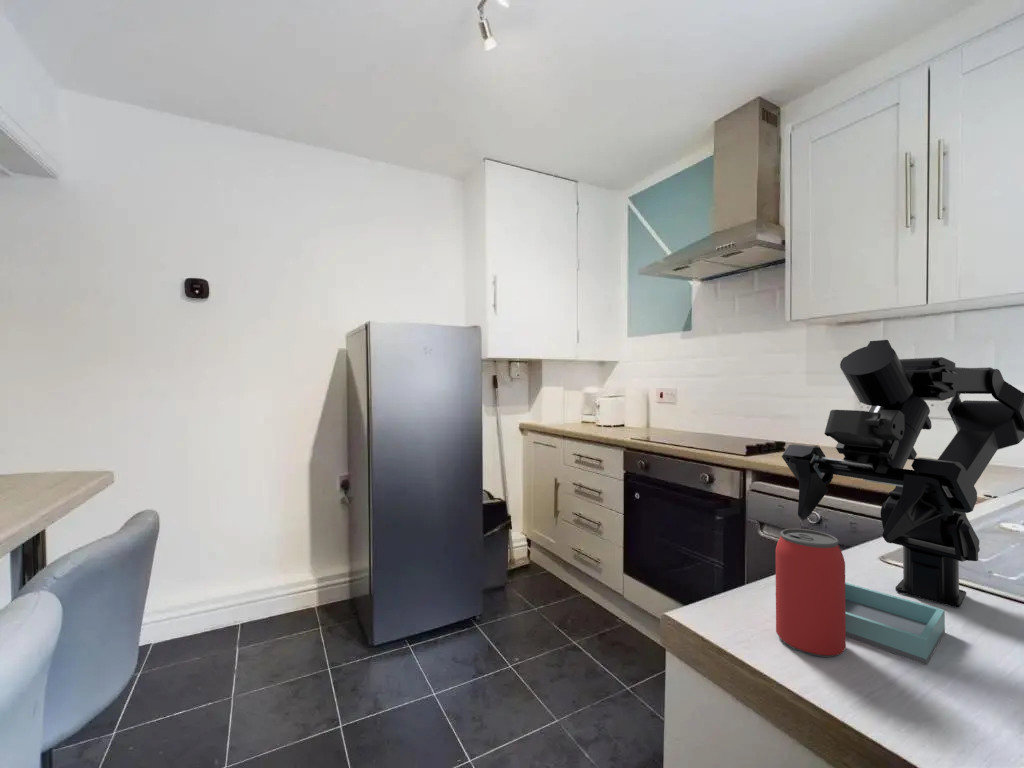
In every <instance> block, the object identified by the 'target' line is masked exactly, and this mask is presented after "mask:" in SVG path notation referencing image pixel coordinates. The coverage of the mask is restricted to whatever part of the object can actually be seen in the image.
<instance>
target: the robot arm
mask: <svg viewBox="0 0 1024 768" xmlns="http://www.w3.org/2000/svg"><path fill="white" fill-rule="evenodd" d="M839 367H840V370H841V371H842V373H843V375H844V377H845V378H846V380H847V382H848V383H849V386H850V387H851V389H852V391H853V393H854V394H855V397H856V398H857V399H858V401H859V403H861V404H864V405H866V406H870V408H869V410H868V411H867V410H854V409H853V410H852V409H831V410H830V411H829V415H828V417H827V421H826V422H827V423H826V426H825V430H824V433H823V434H824V435H825V436H826V437H830V438H832V440H835V442H837V443H836V446H835V449H836V451H837V452H838V454H841V455H843V459H841V458H834V457H827V456H826V455H825V453H824V452H823V450H822V448H821V447H820V446H815V445H814V446H813V445H805V444H797V443H796V444H795V443H793V444H788V446H787V447H786V448H785V450H784V452H783V453H782V455H781V458H782V460H783V461H784V463H785V464H786V465H787V466H788V467H787V468H789V470H790V471H791V473H792V474H793V476H794V477H795V478H796V480H797V481H798V502H797V503H798V507H797V516H798V517H799V519H800V520H803V521H805V520H807V518H809V516H810V515H811V514H812V513H813V511H814V510H815V509H816V508H817V507H818V505H819V504H820V502H821V501H822V499H823V498H824V496H826V494H827V493H828V491H829V488H828V487H827V485H829V484H831V482H832V481H833V480H834V479H833V478H834V476H835V475H836V476H842V477H848V478H853V479H854V478H855V479H861V480H863V481H864V482H871V483H874V484H875V483H876V484H882V485H887V486H888V485H889V486H894V488H893V490H891V491H889V493H888V495H889V497H888V498H887V499H886V500H885V501H884V502H883V503H882V505H881V508H880V519H881V523H882V530H883V532H882V538H883V540H884V541H885V542H886V543H888V544H893V545H898V546H902V559H903V560H902V563H903V564H902V569H903V570H902V573H903V574H902V576H903V579H902V580H900V581H899V583H898V584H897V585H896V586H895V591H896V592H897V593H901V594H905V595H908V596H912V597H917V598H920V599H924V600H927V601H931V602H935V603H936V604H937V603H938V604H941V605H945V606H949V607H953V608H958V609H959V608H960V607H961V605H962V604H963V602H964V601H965V598H966V597H967V591H965V590H962V589H960V563H959V562H965V561H971V562H978V561H979V552H980V548H981V547H980V539H979V537H978V535H977V533H976V532H975V530H974V528H973V527H972V526H973V525H971V522H970V520H969V519H968V517H967V514H969V513H971V512H973V511H974V509H975V505H976V504H977V501H978V491H977V489H976V487H975V485H976V484H977V482H978V481H979V479H980V477H981V476H982V474H983V472H985V469H986V468H987V466H988V465H989V463H990V462H991V461H992V459H993V457H994V456H995V455H996V453H997V451H998V450H1002V449H1005V448H1008V447H1013V446H1016V445H1019V444H1020V443H1021V442H1022V441H1023V440H1024V392H1023V391H1021V390H1020V389H1018V388H1017V387H1015V386H1013V385H1011V384H1010V383H1009V382H1007V381H1005V379H1004V377H1003V375H1002V373H1001V370H1000V369H998V368H993V367H992V366H991V367H957V366H956V362H954V361H952V360H950V359H948V358H946V357H943V356H941V357H939V356H938V357H937V356H935V357H921V358H920V357H919V358H918V357H917V358H899V356H898V354H897V352H896V350H895V349H894V348H893V347H892V345H891V343H890V341H889V340H888V339H880V340H870V341H869V342H868V344H867V345H866V346H863V347H860V348H858V349H856V350H854V351H852V352H851V353H849V354H847V356H844V357H842V359H841V360H840V363H839ZM963 394H964V395H966V394H968V395H972V394H974V395H982V394H984V395H991V396H992V398H994V399H995V400H966V399H965V400H963V401H962V399H961V397H960V396H961V395H963ZM948 399H951V400H950V401H949V404H948V406H947V412H948V414H949V416H950V417H951V420H952V422H953V424H954V426H955V428H956V433H955V435H954V436H953V438H952V439H951V440H950V442H949V443H948V445H947V446H946V447H945V448H944V450H943V451H942V452H941V454H940V456H939V457H938V458H937V459H934V458H932V459H931V458H927V457H926V458H924V457H918V458H917V455H918V453H917V452H916V450H915V448H914V446H915V444H916V443H917V440H918V437H919V436H920V434H921V432H922V430H927V431H928V430H931V429H932V420H931V419H930V417H929V415H930V413H931V409H930V407H929V404H928V403H927V402H926V401H933V402H934V401H936V402H939V401H941V402H943V401H946V400H948ZM908 460H911V461H912V463H911V465H910V466H911V468H912V469H907V468H905V465H906V463H907V462H908Z"/></svg>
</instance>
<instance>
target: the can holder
mask: <svg viewBox="0 0 1024 768" xmlns="http://www.w3.org/2000/svg"><path fill="white" fill-rule="evenodd" d="M845 612H846V638H849V639H852V640H854V641H858V642H861V643H863V644H866V645H869V646H871V647H874V648H876V649H880V650H883V651H886V652H889V653H892V654H894V655H897V656H900V657H901V658H905V659H908V660H911V661H914V662H915V663H916V662H917V663H920V664H922V665H925V666H928V663H930V660H931V658H932V656H933V655H934V652H935V651H936V649H937V647H938V645H939V644H940V643H941V640H942V638H943V637H944V635H945V633H946V624H945V622H946V620H945V619H946V615H945V614H946V612H945V609H942V608H939V607H935V606H931V605H928V604H925V603H922V602H921V603H920V602H917V601H914V600H910V599H907V598H903V597H900V596H899V597H898V596H895V595H892V594H889V593H885V592H881V591H877V590H874V589H871V588H866V587H863V586H860V585H856V584H853V583H848V582H846V581H845Z"/></svg>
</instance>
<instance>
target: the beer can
mask: <svg viewBox="0 0 1024 768" xmlns="http://www.w3.org/2000/svg"><path fill="white" fill-rule="evenodd" d="M839 544H840V540H839V539H838V538H837V537H835V536H834V535H831V534H829V533H826V532H823V531H819V530H812V529H807V528H806V529H804V528H786V529H783V530H781V531H780V537H779V539H778V541H777V542H776V547H775V631H776V634H777V635H778V637H779V639H780V640H781V641H782V642H784V643H785V644H787V645H788V646H790V647H791V648H793V649H795V650H796V651H799V652H802V653H803V654H804V653H805V654H807V655H812V656H816V657H822V658H823V657H824V658H828V657H835V656H836V657H837V656H839V655H841V654H843V652H844V651H845V650H846V647H847V644H846V642H847V639H846V638H847V637H846V612H845V582H846V561H845V558H844V557H845V556H844V555H843V552H842V549H841V548H840V545H839Z"/></svg>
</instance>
